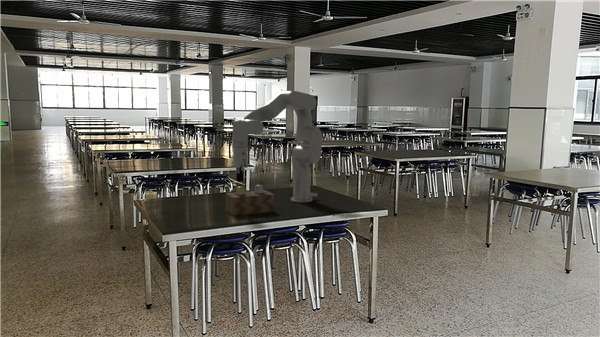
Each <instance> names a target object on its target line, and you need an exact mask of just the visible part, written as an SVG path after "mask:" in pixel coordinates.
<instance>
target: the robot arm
mask: <svg viewBox="0 0 600 337" xmlns="http://www.w3.org/2000/svg"><path fill="white" fill-rule="evenodd" d="M316 105H317V100H316V98H315V96H314V95H313V94H310V93H306V92H301V91H297V90H282V91H279V93H276V95H274V96H273V98H271V99H270V100H269V101H268V102H267V103H265V104H264V105H262V106H260V107H258V108H256V109H254V110H252V111H251V112H249V113H248V114H246V115H245V116H244V117H243V118H242V119H236V120H233V121H232V148H233V155H232V162H233V163H232V165H233V166H234V167H235V172H236V173H235V174H236V177H235V178H236V179H235V180H236V182H237V183H238V182H239V183H240V182H244V172H245V169H247V168H248V167H249V153H248V147H249V146H248V145H249V144H248V141H249V140H248V139H249V137H248V136H249V135H253V136H254V135H255V136H256V135H257V136H258V135H260V134H261V133H262V132H263V131H264V124H263V123H262V122H267V121H268V120H269V121H270V120H272V119H275V118H277V116H279V115H280V114H281V113H282V112H284V110H286V109H287V108H292V110H293V111H294V112H295V115H296V119H297V120H296V129H295V130H296V132H295V139H296V141H297V142H299V143H302V144H308V145H300V144H299V145H296V146H294V148H292V151H291V158H292V164H293V165H292V166H293V175H292V176H293V179H292V181H293V182H292V183H293V187H292V188H293V189H292V190H293V191H292V192H293V193H292V195H293V196H292V197H290V202H294V203H309V202H311V203H312V202H313V197H314V198H315V197H318V195H319V194H318V192H315V193H314V192H311V167H310V164H312V165H313V164H317V163H318V162H319V161H320V160H321V157H322V149H323V148H322V146H323V133H322V131H321V129H320V128H319V127H316V126H313V115H312V113H311V111H312V110H314V109H315V108H316Z"/></svg>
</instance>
